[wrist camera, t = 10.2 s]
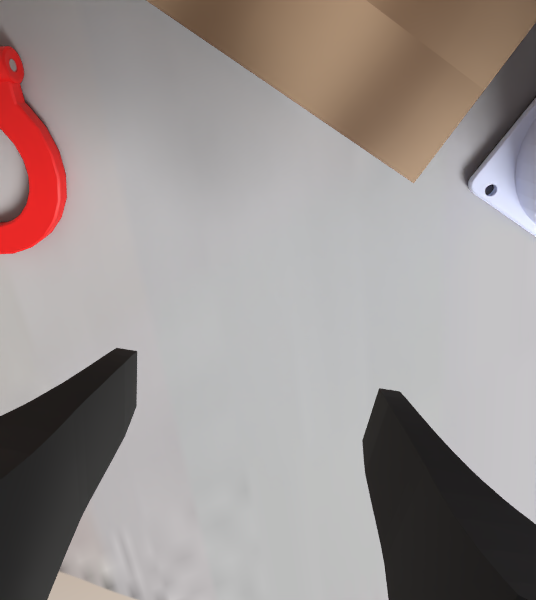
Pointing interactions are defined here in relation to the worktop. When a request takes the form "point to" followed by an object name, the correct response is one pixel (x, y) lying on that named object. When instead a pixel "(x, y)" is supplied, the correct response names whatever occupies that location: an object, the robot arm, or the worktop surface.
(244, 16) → the well board
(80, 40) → the worktop surface
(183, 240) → the worktop surface
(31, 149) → the tow hook
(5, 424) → the robot arm
